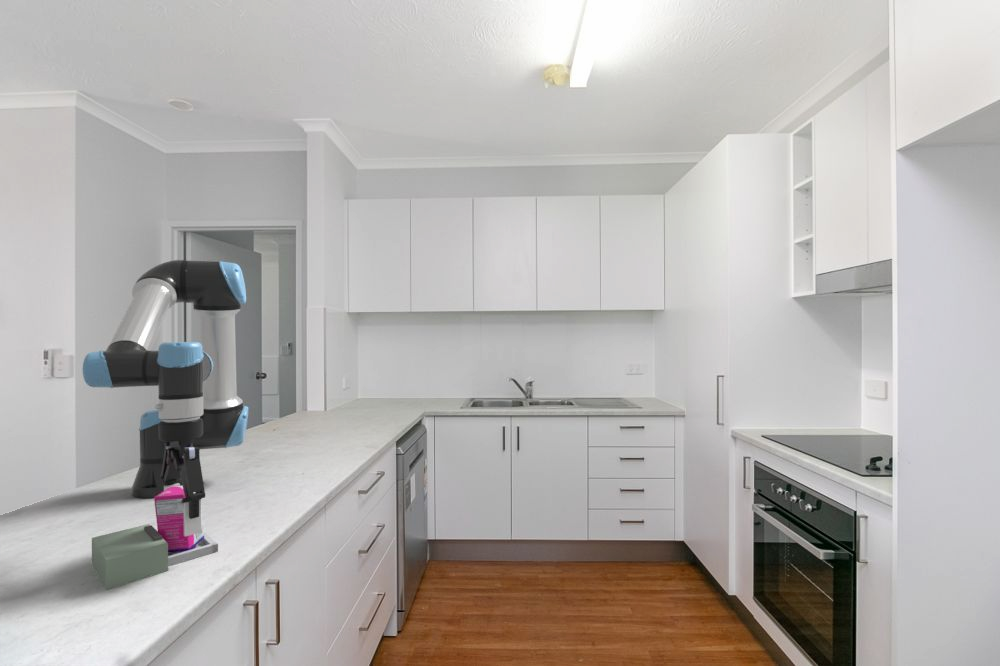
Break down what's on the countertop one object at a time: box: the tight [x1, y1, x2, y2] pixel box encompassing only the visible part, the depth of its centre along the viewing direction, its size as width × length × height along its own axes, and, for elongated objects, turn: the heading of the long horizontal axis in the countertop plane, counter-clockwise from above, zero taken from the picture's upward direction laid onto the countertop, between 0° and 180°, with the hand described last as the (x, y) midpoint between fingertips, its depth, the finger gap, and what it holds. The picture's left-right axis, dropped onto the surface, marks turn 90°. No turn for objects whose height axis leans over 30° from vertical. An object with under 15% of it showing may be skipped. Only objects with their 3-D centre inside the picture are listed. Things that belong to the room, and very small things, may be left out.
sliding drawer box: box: [91, 523, 219, 590], centre depth 95 cm, size 14×18×6 cm
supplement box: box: [153, 486, 205, 553], centre depth 98 cm, size 6×6×12 cm
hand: (181, 524), depth 98 cm, fingers open, 13 cm apart
